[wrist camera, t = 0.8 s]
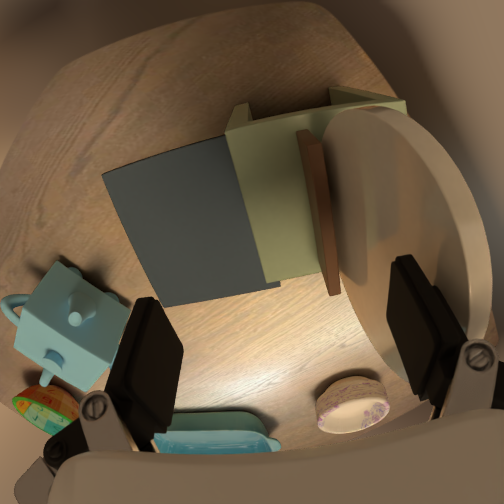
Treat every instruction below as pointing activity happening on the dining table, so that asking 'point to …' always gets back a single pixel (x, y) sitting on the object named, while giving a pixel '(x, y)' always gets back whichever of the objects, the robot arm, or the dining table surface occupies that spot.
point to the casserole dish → (215, 434)
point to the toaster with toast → (292, 184)
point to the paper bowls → (351, 405)
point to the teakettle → (68, 327)
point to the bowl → (47, 407)
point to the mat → (189, 223)
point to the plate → (403, 220)
